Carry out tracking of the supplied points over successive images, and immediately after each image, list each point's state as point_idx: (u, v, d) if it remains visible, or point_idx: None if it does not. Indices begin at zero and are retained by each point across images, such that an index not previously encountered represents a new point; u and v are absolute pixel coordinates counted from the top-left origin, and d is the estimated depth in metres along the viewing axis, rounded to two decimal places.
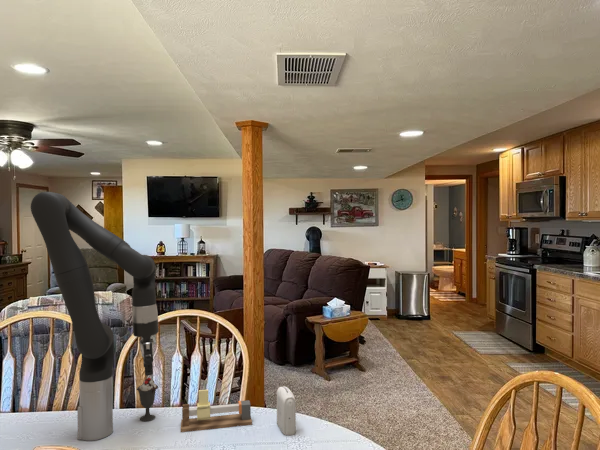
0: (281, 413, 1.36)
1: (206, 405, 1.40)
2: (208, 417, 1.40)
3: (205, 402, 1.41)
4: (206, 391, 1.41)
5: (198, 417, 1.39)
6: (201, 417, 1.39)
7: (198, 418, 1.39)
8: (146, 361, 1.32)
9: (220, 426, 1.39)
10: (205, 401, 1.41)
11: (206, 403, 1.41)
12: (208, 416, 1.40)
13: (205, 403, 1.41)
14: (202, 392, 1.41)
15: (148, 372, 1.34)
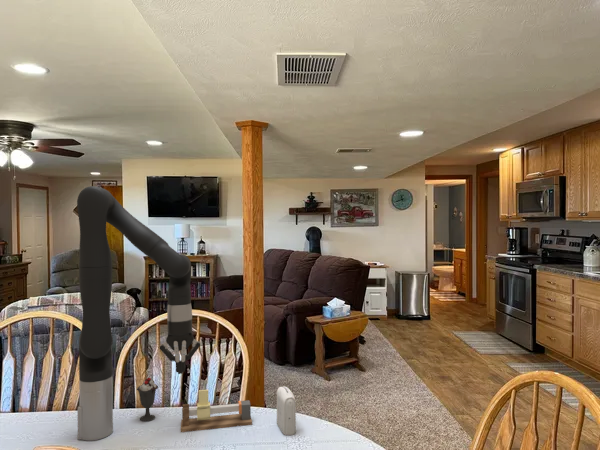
0: (281, 413, 1.36)
1: (206, 405, 1.40)
2: (208, 417, 1.40)
3: (205, 402, 1.41)
4: (206, 391, 1.41)
5: (198, 417, 1.39)
6: (201, 417, 1.39)
7: (198, 418, 1.39)
8: (190, 356, 1.40)
9: (220, 426, 1.39)
10: (205, 401, 1.41)
11: (206, 403, 1.41)
12: (208, 416, 1.40)
13: (205, 403, 1.41)
14: (202, 392, 1.41)
15: (184, 369, 1.40)
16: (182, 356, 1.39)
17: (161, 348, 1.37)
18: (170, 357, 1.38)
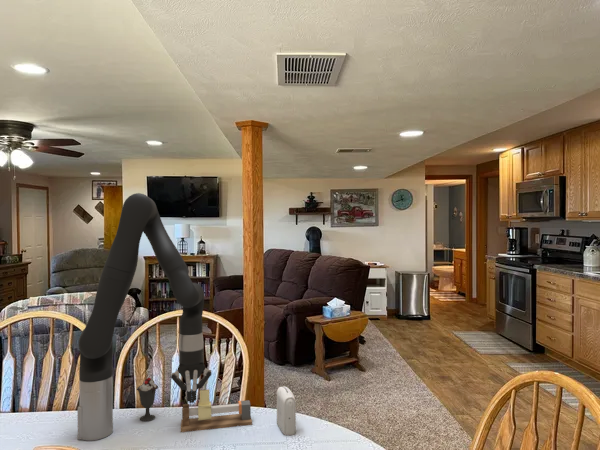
0: (281, 413, 1.36)
1: (207, 405, 1.40)
2: (209, 417, 1.40)
3: (206, 402, 1.41)
4: (207, 391, 1.41)
5: (199, 417, 1.39)
6: (202, 417, 1.39)
7: (199, 418, 1.39)
8: None
9: (220, 426, 1.39)
10: (206, 401, 1.41)
11: (207, 403, 1.41)
12: (209, 416, 1.40)
13: (206, 403, 1.41)
14: (203, 392, 1.41)
15: None
16: (193, 385, 1.39)
17: (173, 377, 1.38)
18: (181, 386, 1.39)
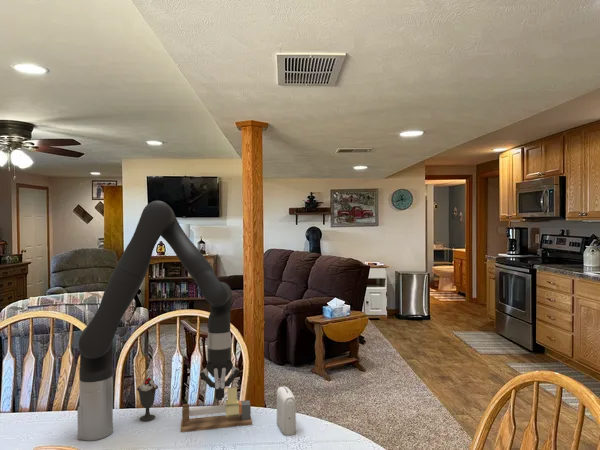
0: (281, 413, 1.36)
1: (235, 402, 1.42)
2: (237, 414, 1.42)
3: (234, 399, 1.43)
4: (235, 388, 1.43)
5: (227, 414, 1.41)
6: (230, 414, 1.41)
7: (227, 415, 1.41)
8: None
9: (220, 426, 1.39)
10: (234, 398, 1.43)
11: (235, 400, 1.43)
12: (237, 413, 1.42)
13: (234, 400, 1.43)
14: (231, 389, 1.43)
15: (223, 395, 1.42)
16: (221, 383, 1.41)
17: (201, 375, 1.40)
18: (210, 384, 1.41)
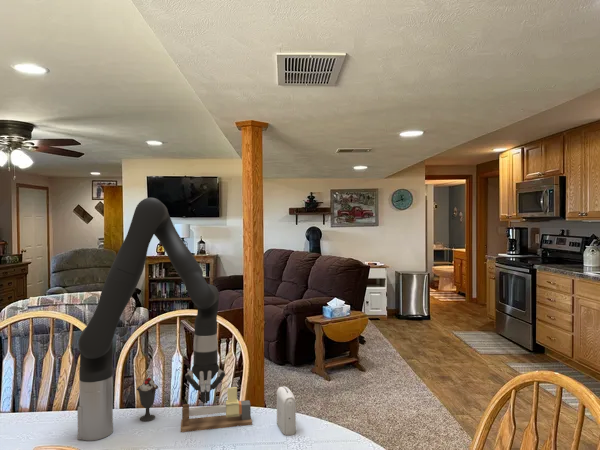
0: (281, 413, 1.36)
1: (235, 402, 1.42)
2: (237, 414, 1.42)
3: (234, 399, 1.43)
4: (235, 388, 1.43)
5: (227, 414, 1.41)
6: (230, 414, 1.41)
7: (227, 415, 1.41)
8: None
9: (220, 426, 1.39)
10: (234, 398, 1.43)
11: (235, 400, 1.43)
12: (237, 413, 1.42)
13: (234, 400, 1.43)
14: (231, 389, 1.43)
15: None
16: (207, 386, 1.40)
17: (187, 378, 1.39)
18: (195, 387, 1.39)
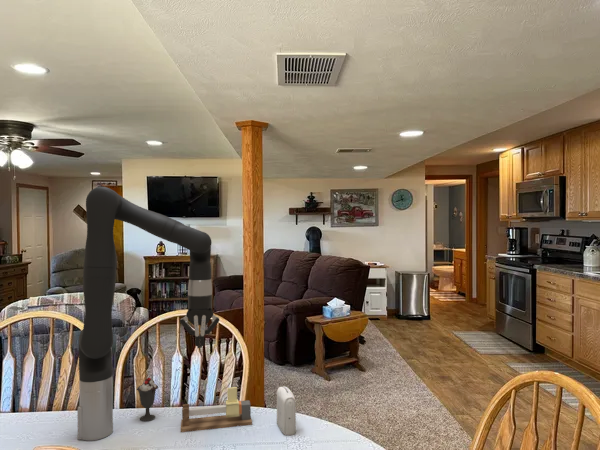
0: (281, 413, 1.36)
1: (235, 402, 1.42)
2: (237, 414, 1.42)
3: (234, 399, 1.43)
4: (235, 388, 1.43)
5: (227, 414, 1.41)
6: (230, 414, 1.41)
7: (227, 415, 1.41)
8: (209, 331, 1.43)
9: (220, 426, 1.39)
10: (234, 398, 1.43)
11: (235, 400, 1.43)
12: (237, 413, 1.42)
13: (234, 400, 1.43)
14: (231, 389, 1.43)
15: (203, 343, 1.43)
16: (201, 330, 1.42)
17: (181, 322, 1.41)
18: (190, 331, 1.41)
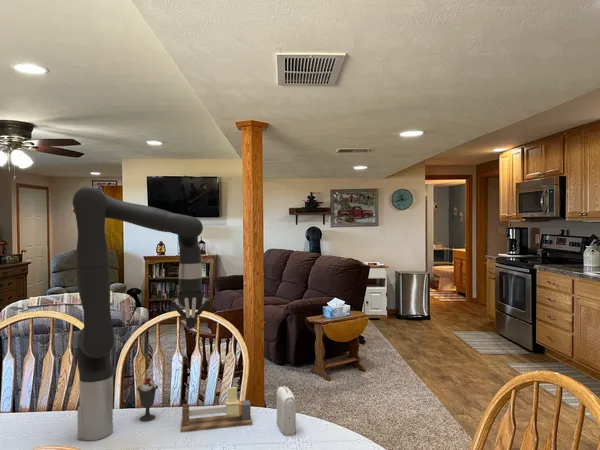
0: (281, 413, 1.36)
1: (235, 402, 1.42)
2: (237, 414, 1.42)
3: (234, 399, 1.43)
4: (235, 388, 1.43)
5: (227, 414, 1.41)
6: (230, 414, 1.41)
7: (227, 415, 1.41)
8: None
9: (220, 426, 1.39)
10: (234, 398, 1.43)
11: (235, 400, 1.43)
12: (237, 413, 1.42)
13: (234, 400, 1.43)
14: (231, 389, 1.43)
15: (194, 325, 1.49)
16: (192, 312, 1.48)
17: (173, 304, 1.46)
18: (181, 313, 1.47)
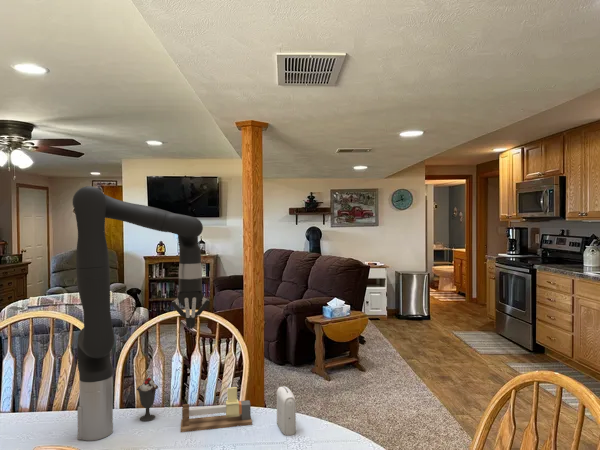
0: (281, 413, 1.36)
1: (235, 402, 1.42)
2: (237, 414, 1.42)
3: (234, 399, 1.43)
4: (235, 388, 1.43)
5: (227, 414, 1.41)
6: (230, 414, 1.41)
7: (227, 415, 1.41)
8: None
9: (220, 426, 1.39)
10: (234, 398, 1.43)
11: (235, 400, 1.43)
12: (237, 413, 1.42)
13: (234, 400, 1.43)
14: (231, 389, 1.43)
15: (194, 325, 1.49)
16: (192, 312, 1.48)
17: (173, 304, 1.46)
18: (181, 313, 1.47)
